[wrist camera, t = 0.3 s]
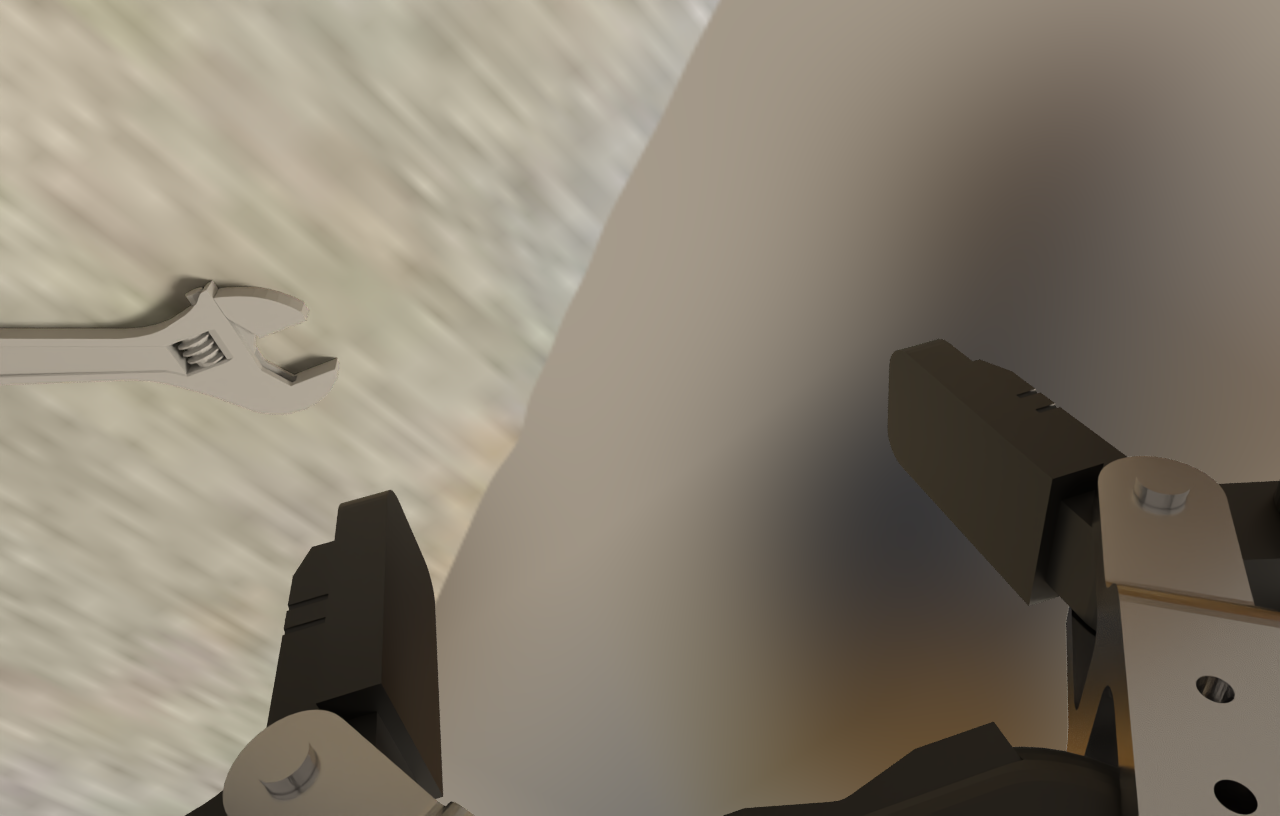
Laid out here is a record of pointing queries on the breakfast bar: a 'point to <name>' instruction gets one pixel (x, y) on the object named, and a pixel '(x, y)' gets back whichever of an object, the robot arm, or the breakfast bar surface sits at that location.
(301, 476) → the breakfast bar surface
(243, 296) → the adjustable wrench
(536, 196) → the breakfast bar surface
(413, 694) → the robot arm
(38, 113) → the breakfast bar surface
